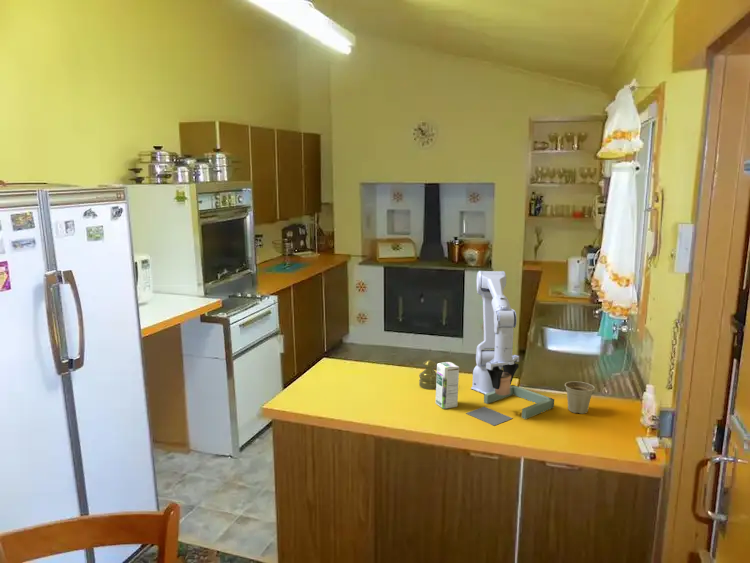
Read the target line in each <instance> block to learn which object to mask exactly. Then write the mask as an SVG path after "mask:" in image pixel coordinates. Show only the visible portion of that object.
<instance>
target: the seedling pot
mask: <svg viewBox="0 0 750 563" xmlns="http://www.w3.org/2000/svg"><path fill="white" fill-rule="evenodd" d="M510 380H511V374H509V373H506V372H504V371H503V373H502V376H501V380H500V387H499V389H495V393H496V394H498V395H509V394H510V393H511V390H510Z"/></svg>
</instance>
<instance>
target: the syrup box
mask: <svg viewBox="0 0 750 563" xmlns="http://www.w3.org/2000/svg"><path fill="white" fill-rule="evenodd" d="M436 373H437V379H436V389H435V404H436V406H439V407H440V408H441V409H442V410H446V409H451V408H457V407H458V398H459V396H458V395H459V381H460V380H459V379H460V378H459V375H460V374H459V373H460V366H458V365H456V363H453V362H452V361H445V362H444V361H443V362H439V363H436Z"/></svg>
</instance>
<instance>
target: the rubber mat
mask: <svg viewBox="0 0 750 563" xmlns="http://www.w3.org/2000/svg"><path fill="white" fill-rule="evenodd" d="M465 414H466V415H468V416H471V417H472V418H475V419H478V420H480V421H482V422H484V423H486V424H488V425H489V424H490V425H491V426H494V427H495V426H497V425H500V424H503V423H505V422H508V421H510V420H513V417H511V416H508V415H506V414H503V413H501V412H498V411H497V410H493V409H492V408H489V407H486V406H482V407H479V408H477V409H474V410H471V411H468V412H466V413H465Z"/></svg>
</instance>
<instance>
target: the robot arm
mask: <svg viewBox="0 0 750 563" xmlns="http://www.w3.org/2000/svg"><path fill="white" fill-rule="evenodd" d="M506 285H507V273H506V272H505V271H504V270H501V271H500V270H498V271H496V270H494V271H493V270H491V271H490V270H489V271H488V270H486V271H485V270H478V271H477V273H476V291H477V292H476V294H478V295H480V296H481V298H482V313H483V314H482V317H483V318H482V319H483V341H481V342H480V343H478V345H477V346H476V352H475V363H476V365H475V367H474V368H473V371H472V386H471V387H470V389H471V390H473V391H476V392H478V393H481V394H483V395H484V394H487V393H490V392H493V391H495V389H499V387H500V380H501V376H502V373H503V372H506V373H509V374H511V380H510V385H512V382H513V379H514V376H515V374H516V372H517V370H518V369H519V366H520V364H519V362H520V355H516V354H513V348H514V328H515V329H516V327H517V313H516V310H515V309H513V308H511V304H510V301H509V298H508V297H507V296H506V295H505V294H504V290H505V287H506ZM502 369H503V370H502Z"/></svg>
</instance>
